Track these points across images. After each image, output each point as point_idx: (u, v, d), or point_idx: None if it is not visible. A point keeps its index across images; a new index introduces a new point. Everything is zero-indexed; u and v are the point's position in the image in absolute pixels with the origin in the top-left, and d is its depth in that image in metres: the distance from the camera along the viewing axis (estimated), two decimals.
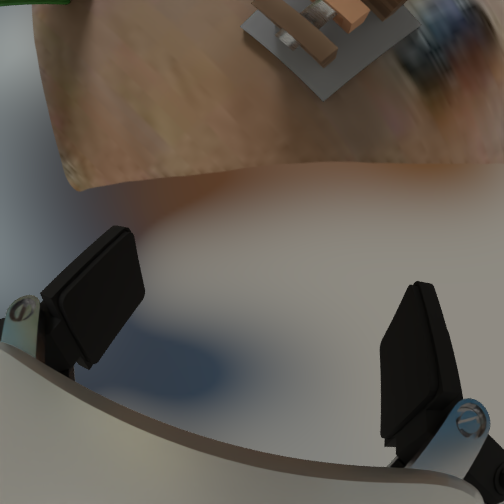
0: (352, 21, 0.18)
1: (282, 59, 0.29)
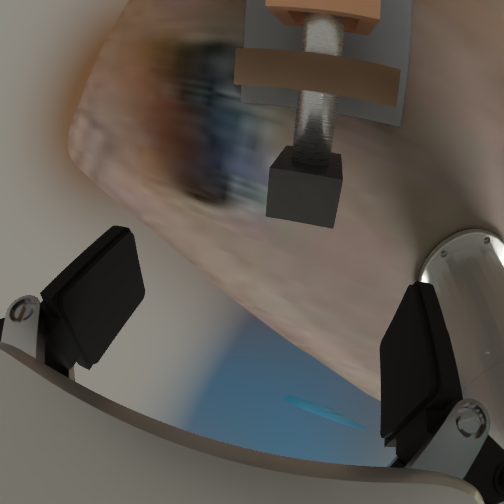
0: None
1: None
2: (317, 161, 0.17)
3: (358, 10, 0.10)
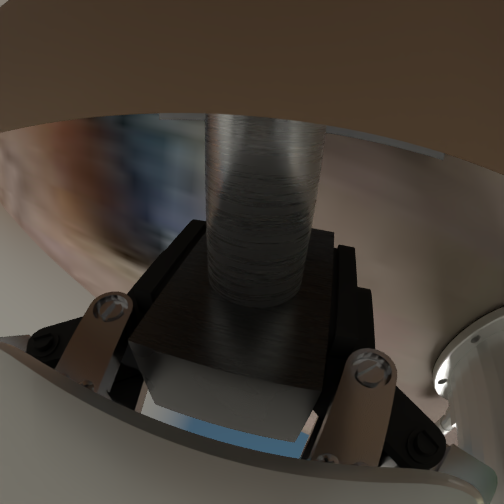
0: None
1: None
2: (264, 299, 0.07)
3: None
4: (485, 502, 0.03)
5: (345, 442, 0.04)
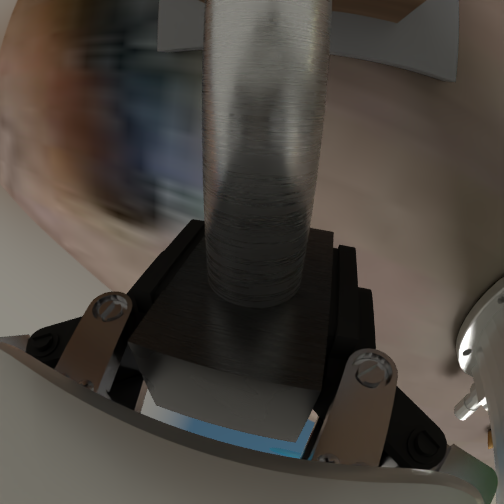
0: None
1: None
2: (263, 299, 0.07)
3: None
4: (486, 502, 0.03)
5: (346, 442, 0.04)
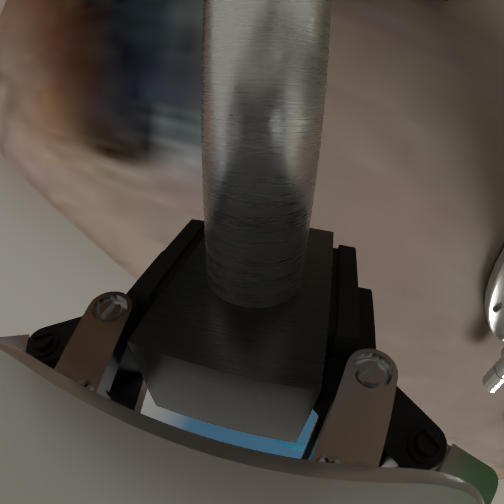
0: None
1: None
2: (263, 299, 0.07)
3: None
4: (485, 502, 0.03)
5: (346, 442, 0.04)
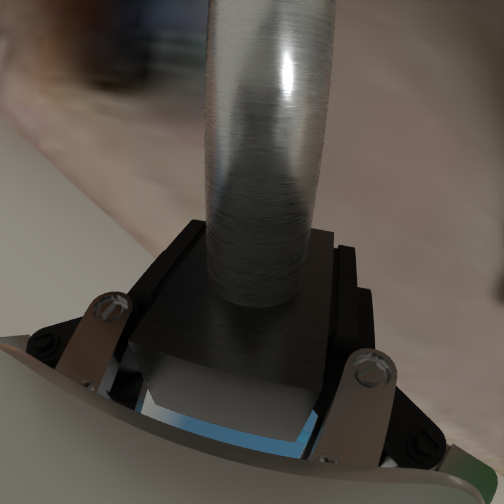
0: None
1: None
2: (264, 299, 0.07)
3: None
4: (485, 502, 0.03)
5: (345, 442, 0.04)
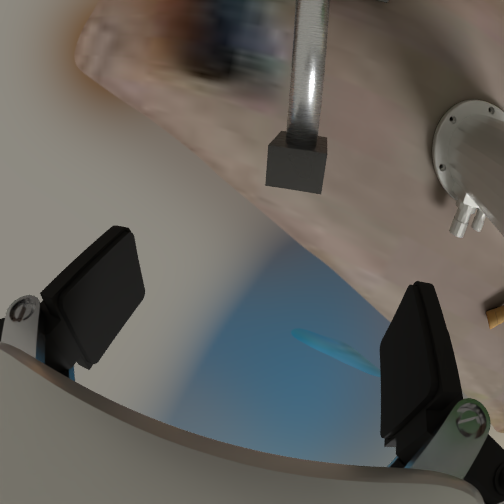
0: None
1: None
2: (306, 141, 0.20)
3: None
4: None
5: None
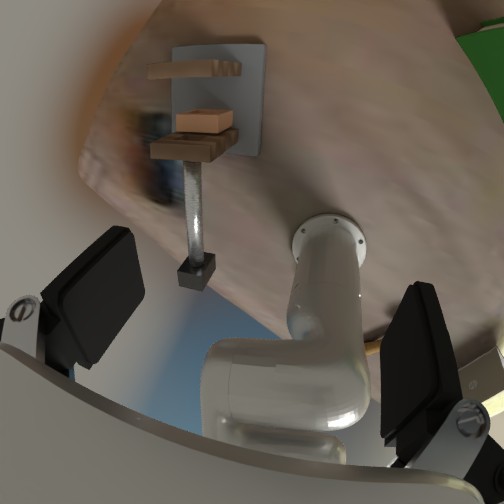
0: (176, 115, 0.36)
1: (216, 45, 0.34)
2: (196, 265, 0.45)
3: (209, 130, 0.36)
4: None
5: None
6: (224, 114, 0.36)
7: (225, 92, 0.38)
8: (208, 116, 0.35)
